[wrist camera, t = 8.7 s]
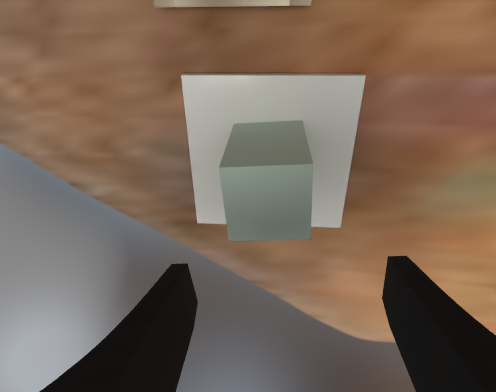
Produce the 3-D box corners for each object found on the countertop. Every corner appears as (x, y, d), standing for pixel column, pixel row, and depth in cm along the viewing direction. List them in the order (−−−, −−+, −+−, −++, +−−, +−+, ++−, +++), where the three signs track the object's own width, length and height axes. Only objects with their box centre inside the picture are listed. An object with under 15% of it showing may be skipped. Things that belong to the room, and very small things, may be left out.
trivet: (363, 73, 18) (365, 75, 17) (338, 222, 23) (340, 227, 22) (183, 73, 18) (181, 75, 18) (199, 218, 23) (197, 222, 23)
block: (302, 120, 19) (313, 163, 13) (301, 181, 21) (310, 239, 15) (233, 123, 19) (218, 167, 14) (239, 183, 21) (228, 241, 16)
